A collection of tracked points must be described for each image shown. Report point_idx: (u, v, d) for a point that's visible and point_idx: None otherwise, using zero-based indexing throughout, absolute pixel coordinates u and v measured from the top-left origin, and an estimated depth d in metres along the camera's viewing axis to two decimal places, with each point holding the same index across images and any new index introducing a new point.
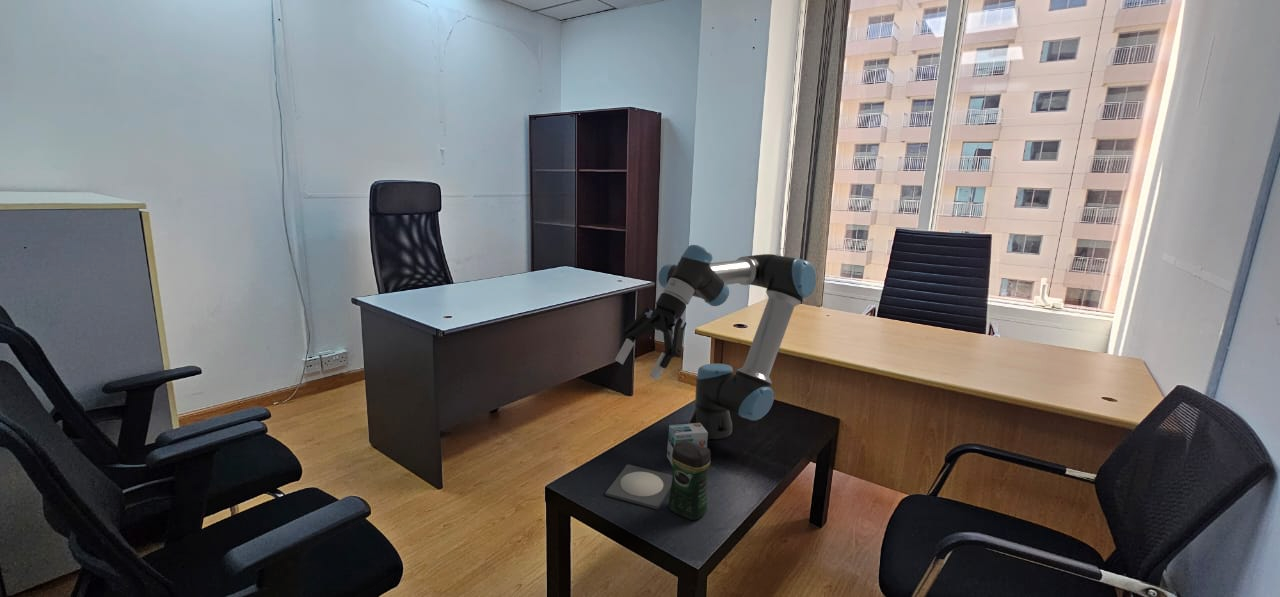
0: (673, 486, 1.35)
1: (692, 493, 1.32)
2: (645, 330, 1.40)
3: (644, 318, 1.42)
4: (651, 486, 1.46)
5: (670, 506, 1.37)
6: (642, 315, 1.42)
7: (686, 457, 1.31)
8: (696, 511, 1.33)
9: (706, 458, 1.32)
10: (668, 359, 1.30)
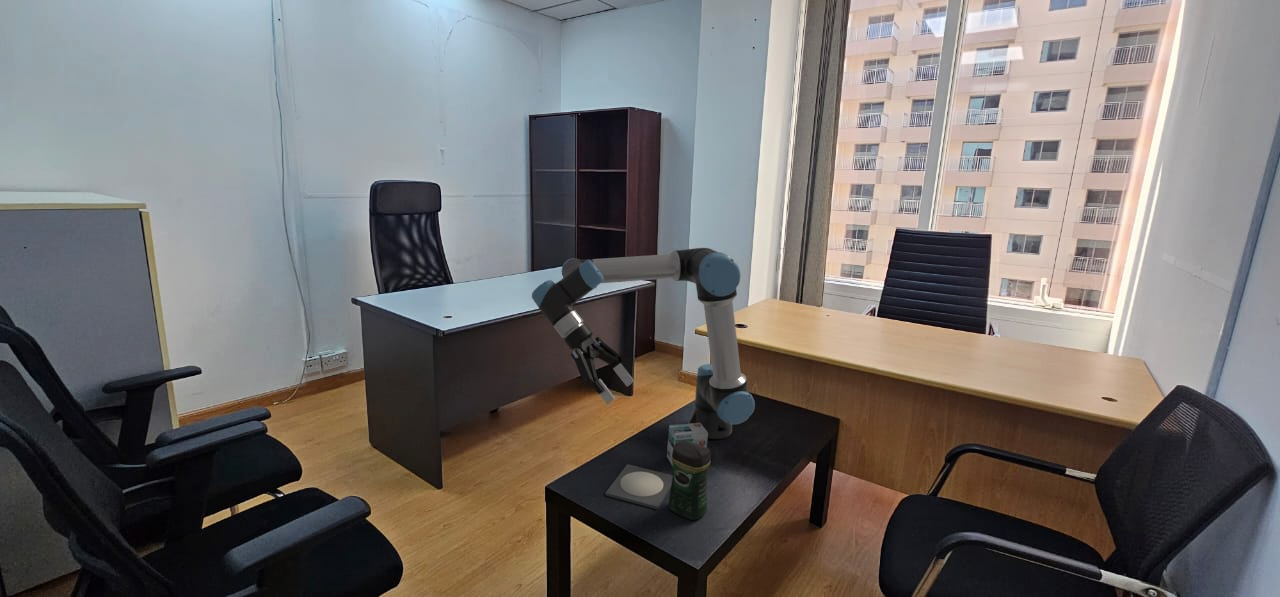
0: (673, 486, 1.35)
1: (692, 493, 1.32)
2: (604, 356, 1.48)
3: None
4: (651, 486, 1.46)
5: (670, 506, 1.37)
6: None
7: (686, 457, 1.31)
8: (696, 511, 1.33)
9: (706, 458, 1.32)
10: (595, 386, 1.37)
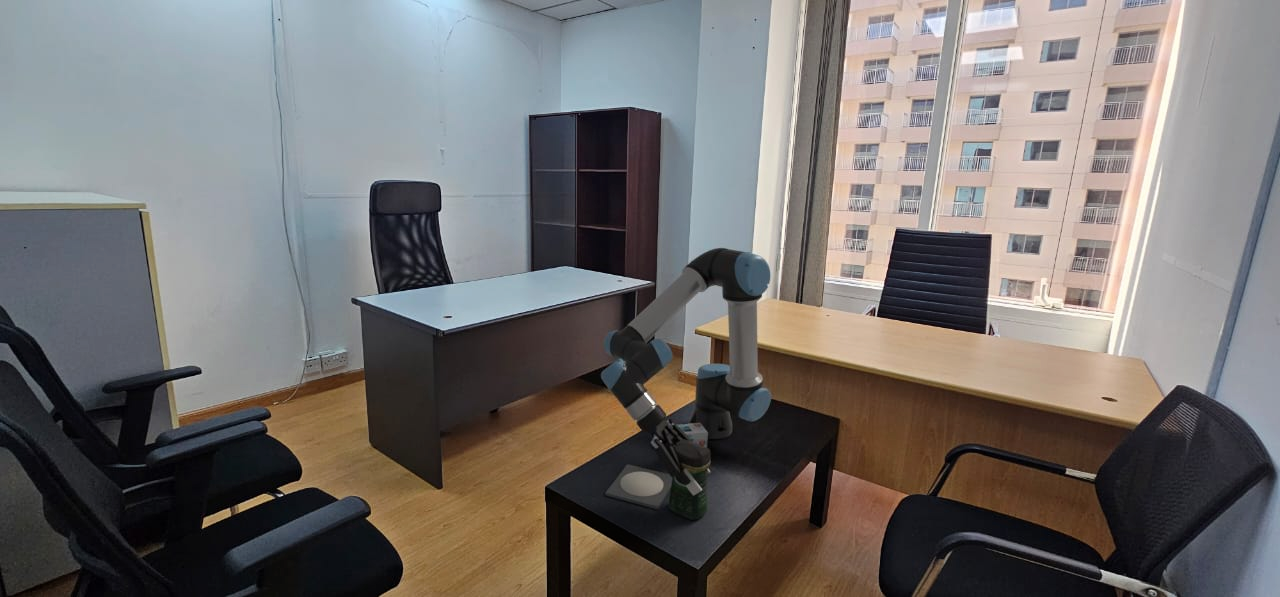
0: (673, 486, 1.35)
1: None
2: None
3: None
4: (651, 486, 1.46)
5: (670, 506, 1.37)
6: None
7: (686, 457, 1.31)
8: (696, 511, 1.33)
9: (706, 458, 1.32)
10: (681, 477, 1.30)
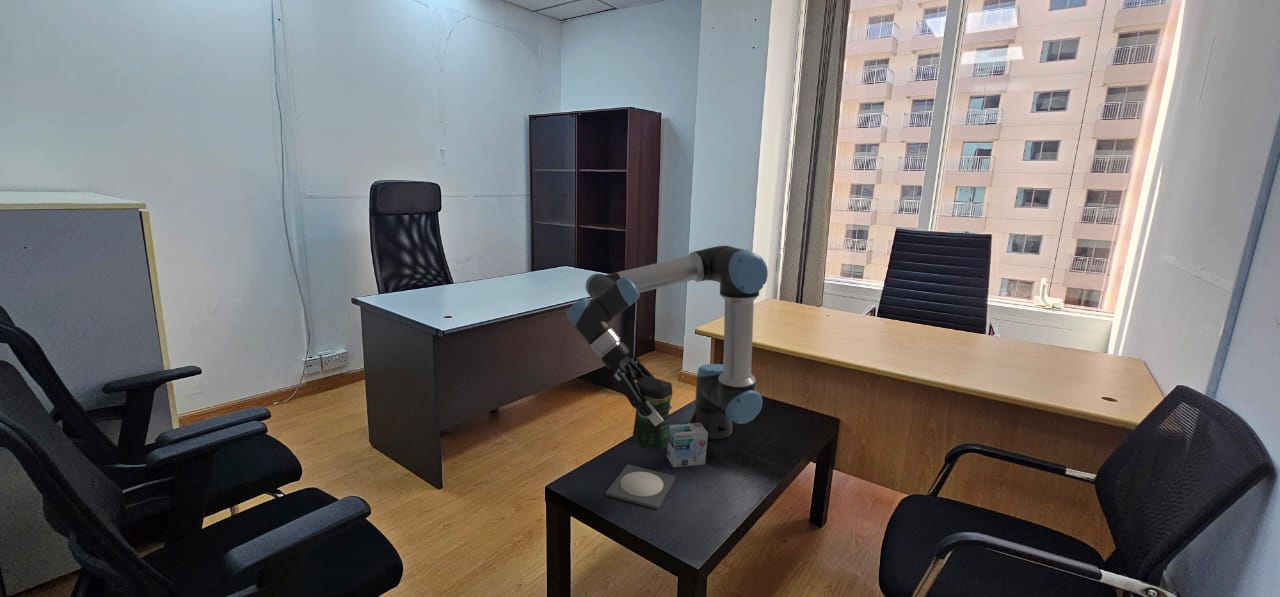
0: (636, 419, 1.40)
1: None
2: None
3: None
4: (651, 486, 1.46)
5: (634, 439, 1.42)
6: None
7: (648, 390, 1.36)
8: (659, 442, 1.38)
9: (667, 390, 1.37)
10: (643, 408, 1.35)
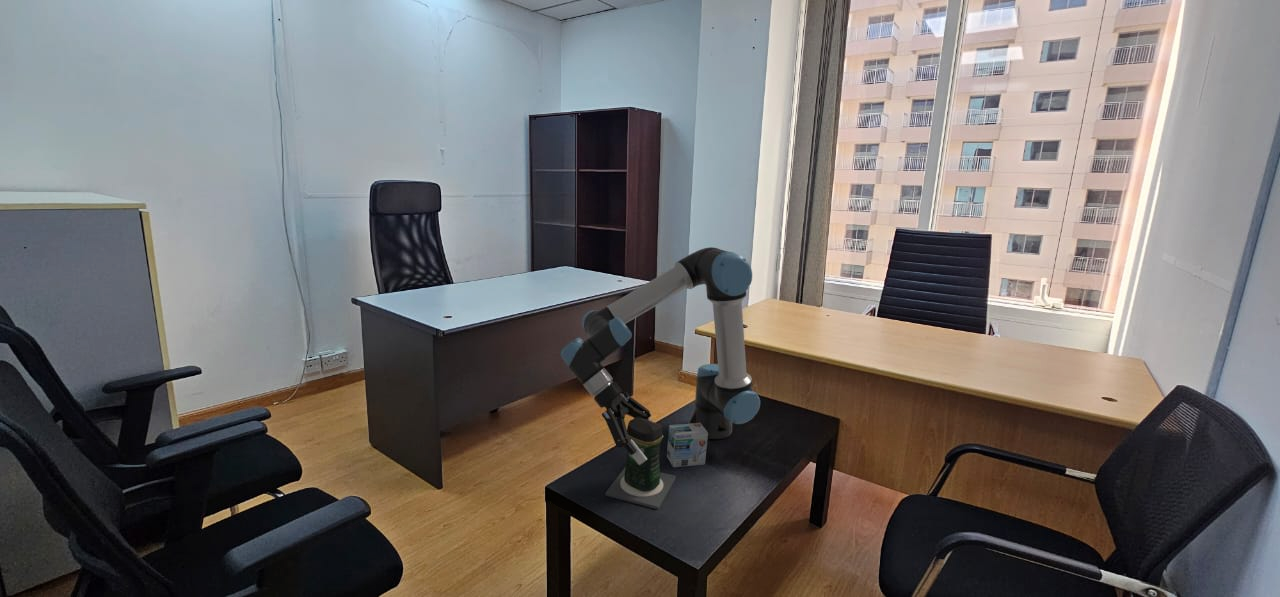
0: (628, 460, 1.44)
1: (645, 466, 1.41)
2: (633, 413, 1.48)
3: (628, 403, 1.51)
4: None
5: (625, 479, 1.46)
6: None
7: (638, 432, 1.40)
8: (649, 483, 1.42)
9: (657, 433, 1.41)
10: (627, 447, 1.37)
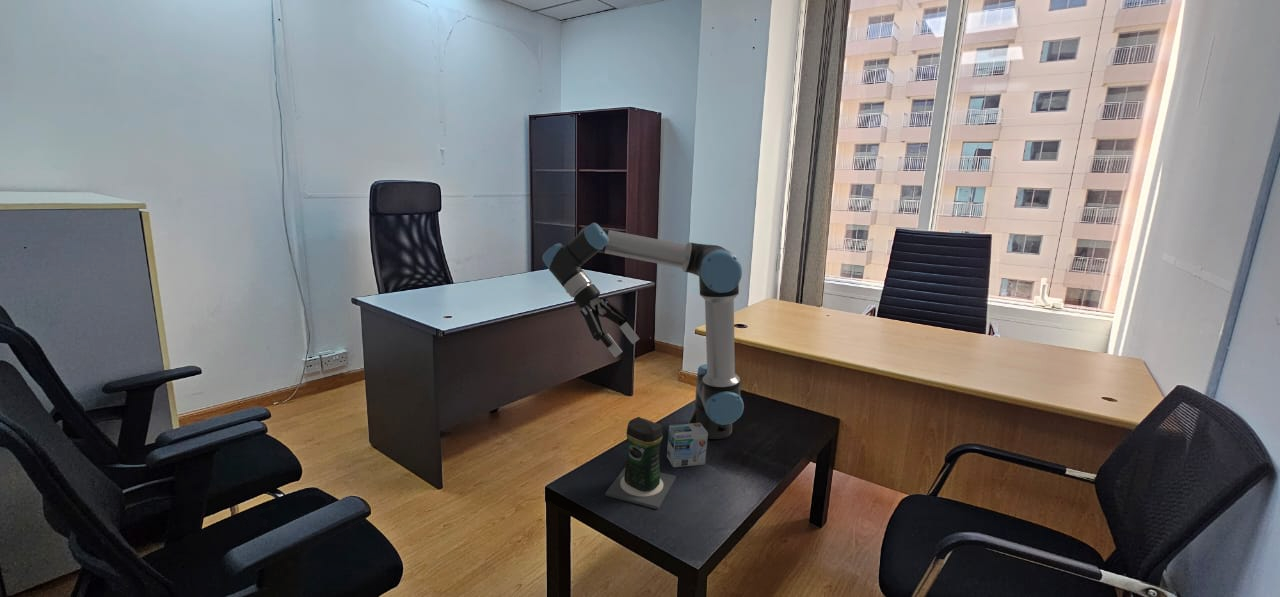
0: (628, 460, 1.44)
1: (645, 466, 1.41)
2: (611, 315, 1.57)
3: None
4: None
5: (625, 479, 1.46)
6: None
7: (638, 433, 1.40)
8: (649, 483, 1.42)
9: (657, 433, 1.41)
10: (603, 340, 1.46)
